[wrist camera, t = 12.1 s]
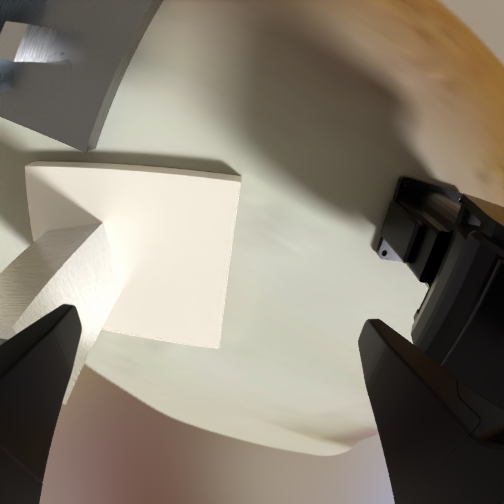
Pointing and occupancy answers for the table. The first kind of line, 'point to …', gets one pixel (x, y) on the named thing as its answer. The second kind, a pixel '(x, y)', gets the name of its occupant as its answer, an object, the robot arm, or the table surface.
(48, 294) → the square hollow tube
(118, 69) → the grey piece
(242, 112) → the table surface
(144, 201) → the cutting board
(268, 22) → the table surface
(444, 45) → the table surface
